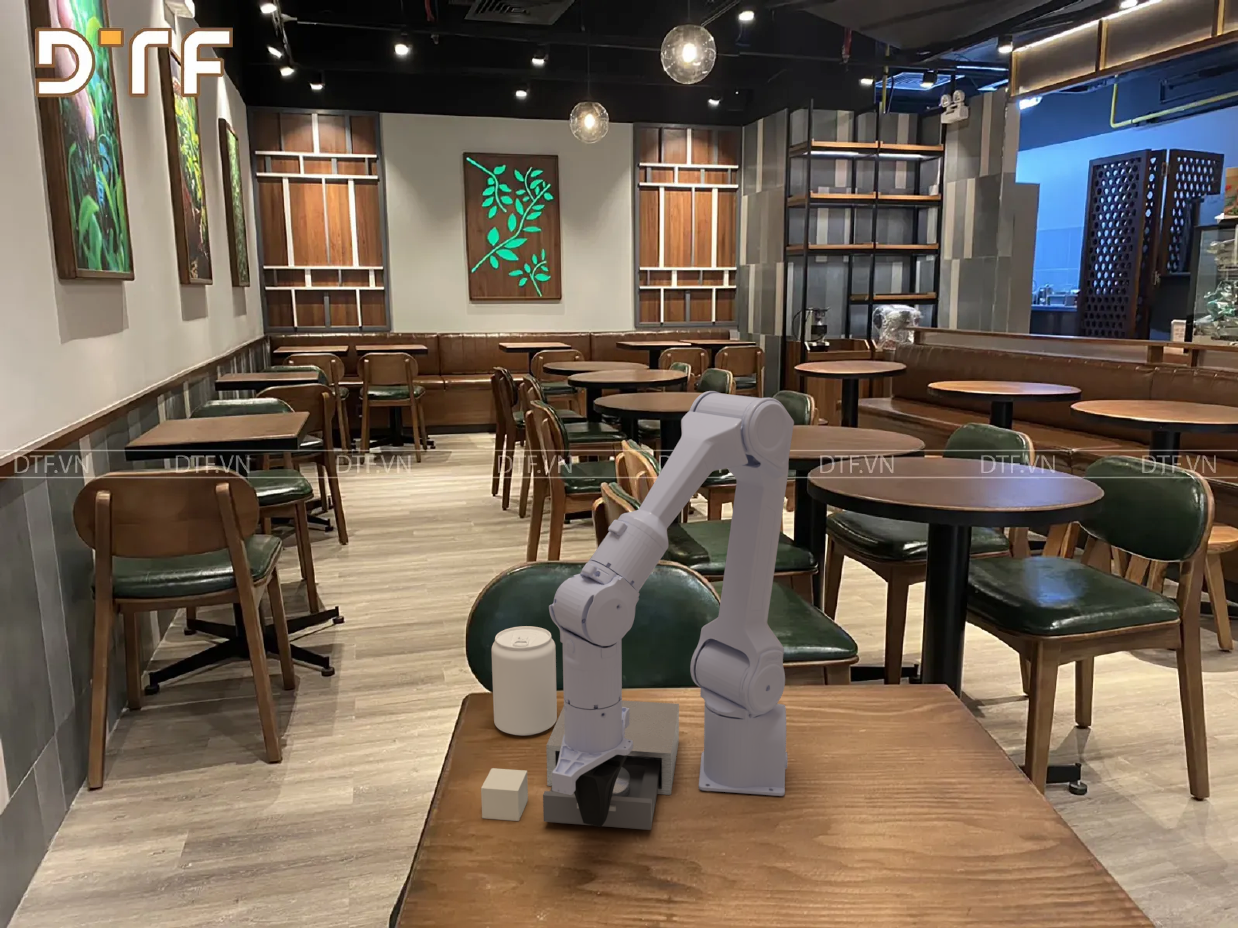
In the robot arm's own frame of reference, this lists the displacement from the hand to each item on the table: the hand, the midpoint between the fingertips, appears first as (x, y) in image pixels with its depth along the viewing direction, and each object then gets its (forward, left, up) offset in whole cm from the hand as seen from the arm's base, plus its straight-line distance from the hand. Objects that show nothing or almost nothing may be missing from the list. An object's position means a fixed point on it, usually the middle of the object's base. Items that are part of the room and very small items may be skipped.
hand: (594, 821), depth 88 cm
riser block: (+11, -4, -2) cm, 12 cm away
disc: (0, -7, -1) cm, 7 cm away
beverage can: (+13, -23, -2) cm, 27 cm away
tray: (0, -7, -1) cm, 7 cm away
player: (0, -15, -2) cm, 16 cm away
